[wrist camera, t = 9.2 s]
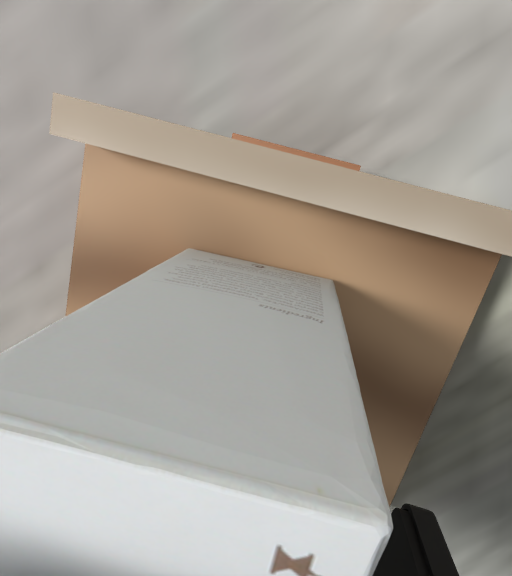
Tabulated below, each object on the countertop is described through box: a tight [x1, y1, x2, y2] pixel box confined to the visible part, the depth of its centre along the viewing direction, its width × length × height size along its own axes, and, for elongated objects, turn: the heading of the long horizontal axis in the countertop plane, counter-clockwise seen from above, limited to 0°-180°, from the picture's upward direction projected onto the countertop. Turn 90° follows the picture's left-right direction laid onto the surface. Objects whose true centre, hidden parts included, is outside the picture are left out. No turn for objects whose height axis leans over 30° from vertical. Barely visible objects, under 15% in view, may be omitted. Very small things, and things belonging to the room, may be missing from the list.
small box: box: [0, 248, 393, 576], centre depth 10 cm, size 8×6×10 cm
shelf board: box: [49, 92, 512, 507], centre depth 14 cm, size 13×15×3 cm
